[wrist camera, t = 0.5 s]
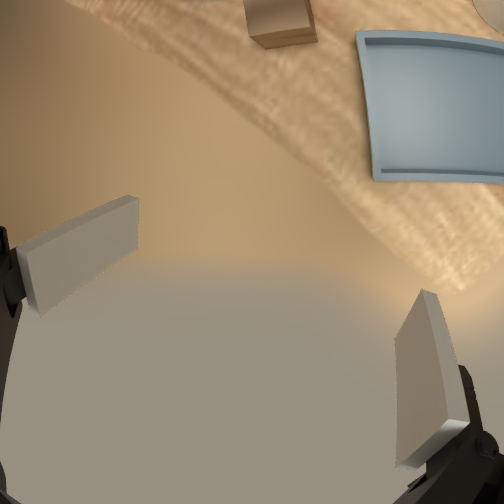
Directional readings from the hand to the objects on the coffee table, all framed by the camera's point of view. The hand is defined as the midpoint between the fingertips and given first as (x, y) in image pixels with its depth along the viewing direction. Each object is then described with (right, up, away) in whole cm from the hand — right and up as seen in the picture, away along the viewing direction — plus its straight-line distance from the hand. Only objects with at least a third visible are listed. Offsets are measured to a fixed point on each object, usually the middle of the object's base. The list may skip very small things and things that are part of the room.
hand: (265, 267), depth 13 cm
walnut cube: (+3, +27, +15) cm, 31 cm away
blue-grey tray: (+22, +16, +13) cm, 30 cm away
